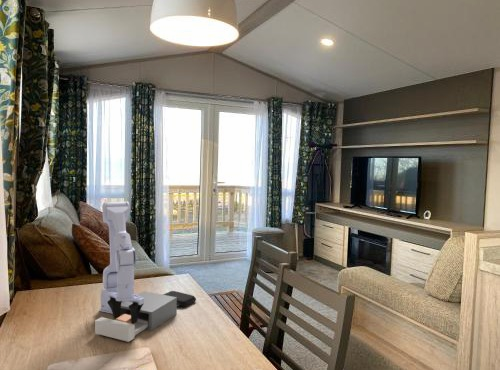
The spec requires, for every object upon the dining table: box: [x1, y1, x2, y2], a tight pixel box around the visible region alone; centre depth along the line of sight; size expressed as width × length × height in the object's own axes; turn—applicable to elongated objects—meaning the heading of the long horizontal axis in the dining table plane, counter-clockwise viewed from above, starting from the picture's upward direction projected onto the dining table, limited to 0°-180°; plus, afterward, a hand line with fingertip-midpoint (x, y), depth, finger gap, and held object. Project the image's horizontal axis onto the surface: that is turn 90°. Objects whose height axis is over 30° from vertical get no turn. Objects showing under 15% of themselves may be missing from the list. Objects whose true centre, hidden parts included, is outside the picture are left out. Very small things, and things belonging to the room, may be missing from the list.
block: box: [116, 314, 135, 325], centre depth 134 cm, size 4×4×4 cm
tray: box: [94, 316, 149, 342], centre depth 134 cm, size 14×14×5 cm
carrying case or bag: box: [162, 290, 197, 308], centre depth 163 cm, size 11×3×15 cm
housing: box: [120, 290, 178, 331], centre depth 145 cm, size 16×16×7 cm
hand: (125, 320), depth 134 cm, fingers open, 7 cm apart
